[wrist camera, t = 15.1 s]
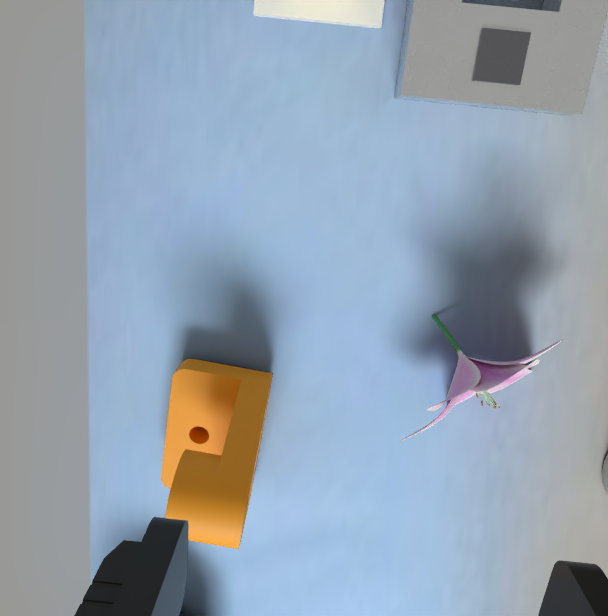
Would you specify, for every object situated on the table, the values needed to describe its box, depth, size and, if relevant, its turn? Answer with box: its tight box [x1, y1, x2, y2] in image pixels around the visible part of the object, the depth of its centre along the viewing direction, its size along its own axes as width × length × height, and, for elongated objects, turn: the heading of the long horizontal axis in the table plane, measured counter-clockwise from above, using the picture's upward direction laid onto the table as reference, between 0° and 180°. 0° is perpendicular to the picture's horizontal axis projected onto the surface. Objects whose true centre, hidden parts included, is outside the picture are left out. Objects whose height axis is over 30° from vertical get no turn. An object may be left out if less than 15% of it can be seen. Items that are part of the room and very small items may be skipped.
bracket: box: [161, 359, 273, 549], centre depth 37 cm, size 11×7×12 cm, turn 170°
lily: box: [400, 315, 566, 441], centre depth 36 cm, size 12×12×10 cm
